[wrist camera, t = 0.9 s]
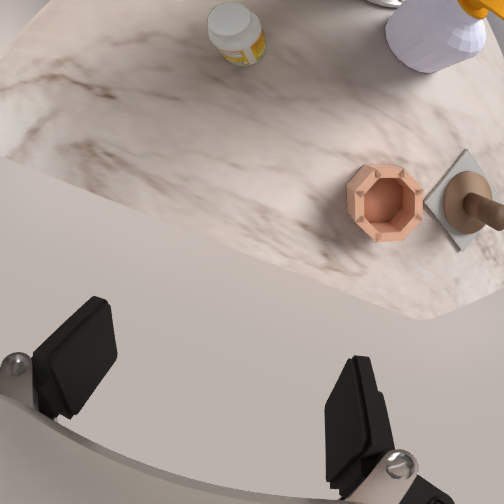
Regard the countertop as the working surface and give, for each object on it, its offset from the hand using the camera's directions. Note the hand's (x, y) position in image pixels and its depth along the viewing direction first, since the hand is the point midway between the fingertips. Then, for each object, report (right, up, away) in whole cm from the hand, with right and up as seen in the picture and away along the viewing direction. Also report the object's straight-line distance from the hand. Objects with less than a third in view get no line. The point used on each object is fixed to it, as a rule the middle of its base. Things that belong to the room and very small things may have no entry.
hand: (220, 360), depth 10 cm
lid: (+30, +11, +20) cm, 37 cm away
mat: (+30, +11, +21) cm, 38 cm away
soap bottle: (+22, +30, +15) cm, 40 cm away
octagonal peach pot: (+16, +11, +23) cm, 30 cm away
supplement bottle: (0, +28, +18) cm, 34 cm away
